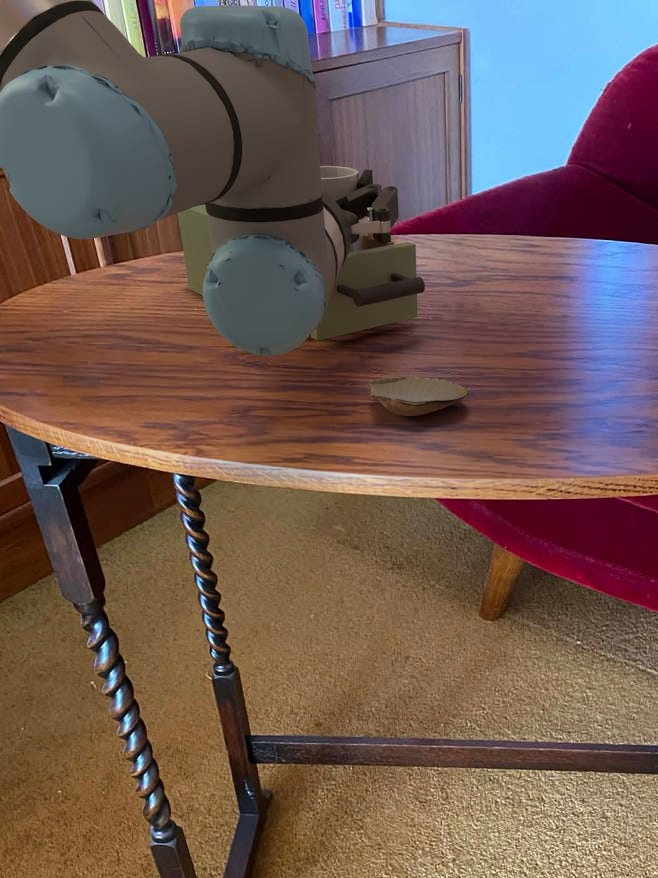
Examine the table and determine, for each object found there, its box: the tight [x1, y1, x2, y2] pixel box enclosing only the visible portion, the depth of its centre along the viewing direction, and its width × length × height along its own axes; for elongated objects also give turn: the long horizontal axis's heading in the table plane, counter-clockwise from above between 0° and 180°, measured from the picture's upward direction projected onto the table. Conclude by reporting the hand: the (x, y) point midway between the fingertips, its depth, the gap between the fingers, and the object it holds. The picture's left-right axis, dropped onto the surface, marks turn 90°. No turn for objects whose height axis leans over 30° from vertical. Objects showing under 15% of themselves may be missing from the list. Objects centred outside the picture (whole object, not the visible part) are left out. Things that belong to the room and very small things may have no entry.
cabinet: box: [177, 205, 213, 297], centre depth 99 cm, size 15×13×9 cm
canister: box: [320, 165, 363, 253], centre depth 89 cm, size 6×6×8 cm
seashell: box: [367, 376, 469, 417], centre depth 76 cm, size 8×3×8 cm
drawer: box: [310, 234, 426, 342], centre depth 91 cm, size 18×11×7 cm, turn 40°
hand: (333, 184), depth 92 cm, fingers closed on canister, 6 cm apart
